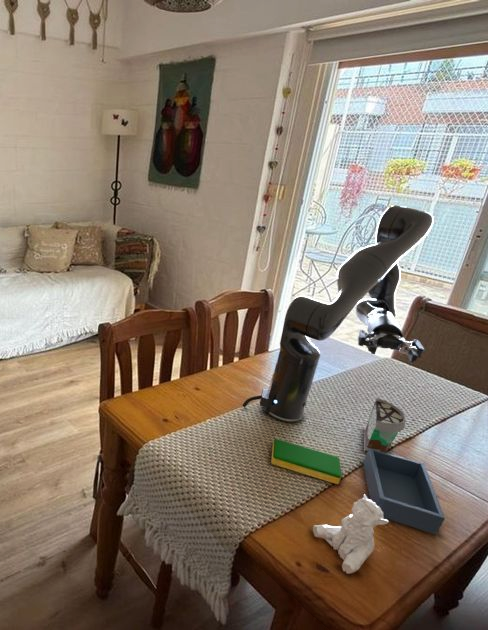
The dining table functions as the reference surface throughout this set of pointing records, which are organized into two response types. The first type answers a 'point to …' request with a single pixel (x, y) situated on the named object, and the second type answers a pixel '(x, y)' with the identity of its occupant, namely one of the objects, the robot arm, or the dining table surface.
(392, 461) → the blue open tray
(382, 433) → the food container
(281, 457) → the dish sponge
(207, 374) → the dining table surface
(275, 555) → the dining table surface
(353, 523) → the seated beast figurine
